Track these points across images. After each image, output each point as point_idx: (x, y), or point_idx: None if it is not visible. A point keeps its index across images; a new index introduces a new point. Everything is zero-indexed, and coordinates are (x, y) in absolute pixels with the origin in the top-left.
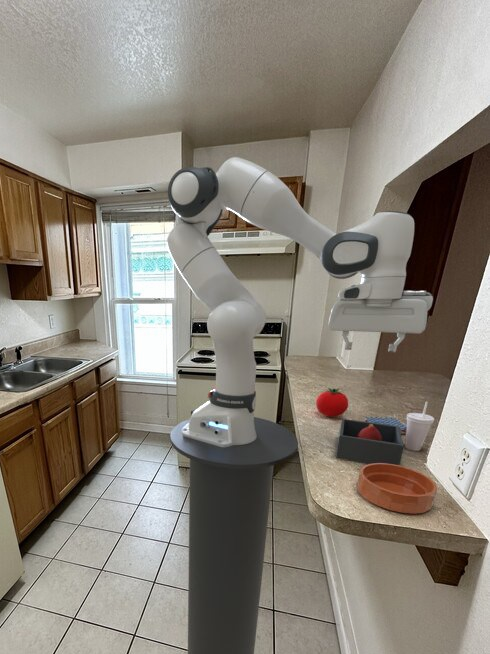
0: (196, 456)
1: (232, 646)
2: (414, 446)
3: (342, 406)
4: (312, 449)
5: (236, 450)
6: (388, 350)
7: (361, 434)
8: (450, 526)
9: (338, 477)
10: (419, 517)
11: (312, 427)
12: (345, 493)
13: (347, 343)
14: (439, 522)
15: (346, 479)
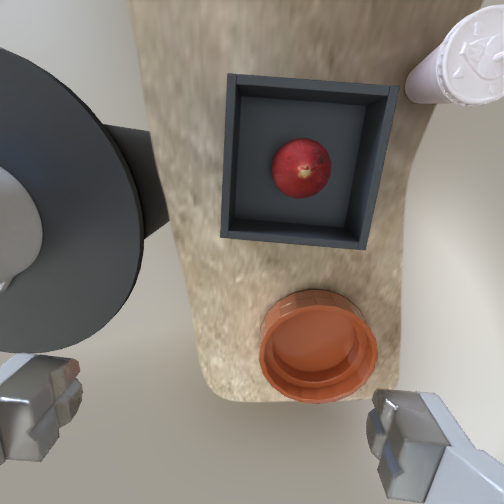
0: None
1: None
2: (424, 103)
3: None
4: (176, 192)
5: (31, 297)
6: (375, 405)
7: (278, 183)
8: (369, 385)
9: (232, 304)
10: None
11: (157, 10)
12: (242, 350)
13: (3, 451)
14: None
15: (245, 306)
